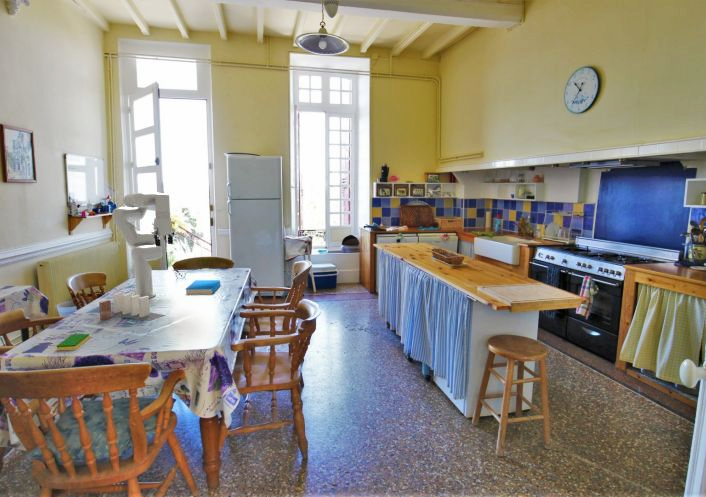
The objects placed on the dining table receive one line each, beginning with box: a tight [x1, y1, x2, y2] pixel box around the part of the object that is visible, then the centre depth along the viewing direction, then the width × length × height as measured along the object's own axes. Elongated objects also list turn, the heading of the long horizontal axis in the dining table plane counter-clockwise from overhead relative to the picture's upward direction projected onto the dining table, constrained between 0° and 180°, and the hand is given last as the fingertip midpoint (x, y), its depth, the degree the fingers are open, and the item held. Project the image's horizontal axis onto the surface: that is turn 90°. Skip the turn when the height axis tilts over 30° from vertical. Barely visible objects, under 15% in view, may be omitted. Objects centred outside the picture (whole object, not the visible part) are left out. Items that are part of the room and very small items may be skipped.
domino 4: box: [130, 295, 140, 316], centre depth 216 cm, size 2×5×10 cm, turn 159°
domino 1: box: [98, 299, 113, 321], centre depth 209 cm, size 2×5×10 cm, turn 159°
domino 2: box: [112, 291, 124, 313], centre depth 220 cm, size 2×5×10 cm, turn 159°
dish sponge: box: [56, 333, 90, 351], centre depth 178 cm, size 7×14×2 cm, turn 10°
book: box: [185, 279, 221, 295], centre depth 276 cm, size 17×4×25 cm
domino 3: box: [121, 292, 133, 314], centre depth 218 cm, size 2×5×10 cm, turn 159°
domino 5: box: [138, 296, 151, 317], centre depth 214 cm, size 2×5×10 cm, turn 159°
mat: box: [111, 310, 166, 322], centre depth 217 cm, size 30×11×1 cm, turn 69°
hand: (164, 245), depth 237 cm, fingers open, 9 cm apart
